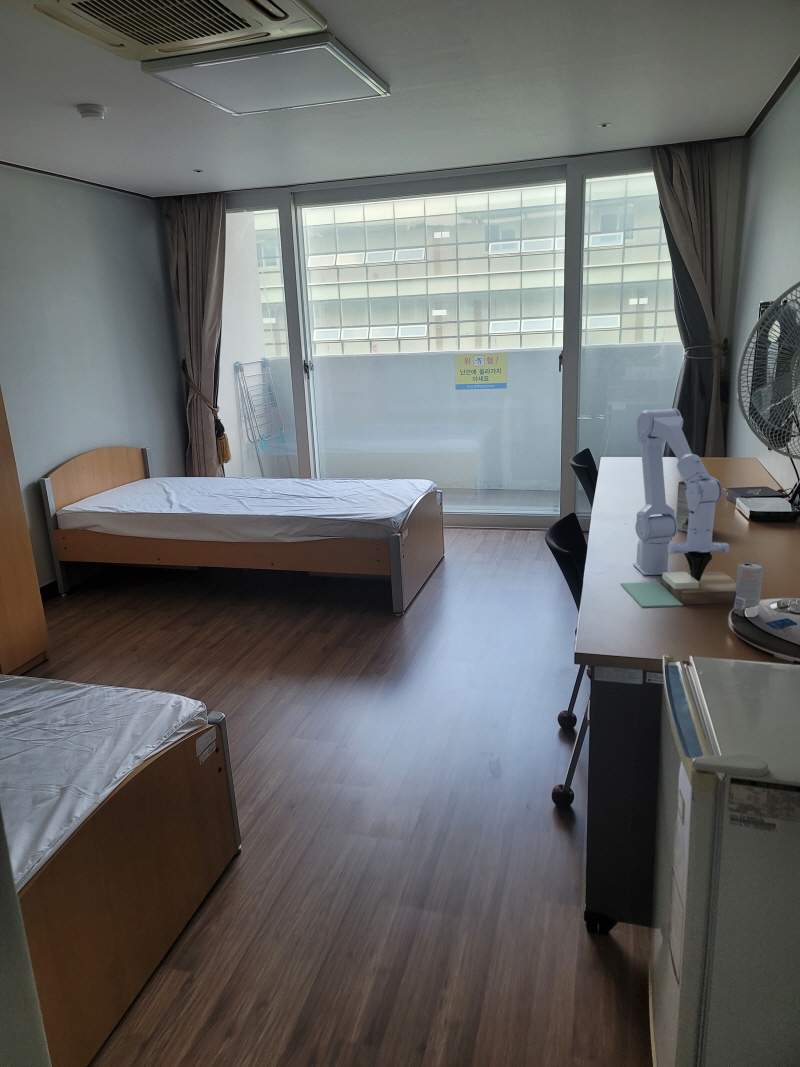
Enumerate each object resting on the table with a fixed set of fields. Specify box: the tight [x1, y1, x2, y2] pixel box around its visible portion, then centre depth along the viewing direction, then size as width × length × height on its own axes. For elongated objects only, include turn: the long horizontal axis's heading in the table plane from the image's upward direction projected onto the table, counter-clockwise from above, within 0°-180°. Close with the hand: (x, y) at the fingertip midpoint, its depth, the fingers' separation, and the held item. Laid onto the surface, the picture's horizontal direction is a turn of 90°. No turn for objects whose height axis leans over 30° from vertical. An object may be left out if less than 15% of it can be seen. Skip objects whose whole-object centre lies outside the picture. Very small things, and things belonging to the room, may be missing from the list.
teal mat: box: [620, 581, 684, 608], centre depth 182 cm, size 16×10×1 cm, turn 1°
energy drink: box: [732, 561, 764, 610], centre depth 168 cm, size 5×5×12 cm
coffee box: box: [675, 480, 689, 533], centre depth 237 cm, size 9×6×16 cm
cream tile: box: [661, 571, 699, 589], centre depth 181 cm, size 8×6×2 cm
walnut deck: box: [660, 571, 736, 605], centre depth 182 cm, size 14×16×3 cm
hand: (695, 579), depth 182 cm, fingers closed
